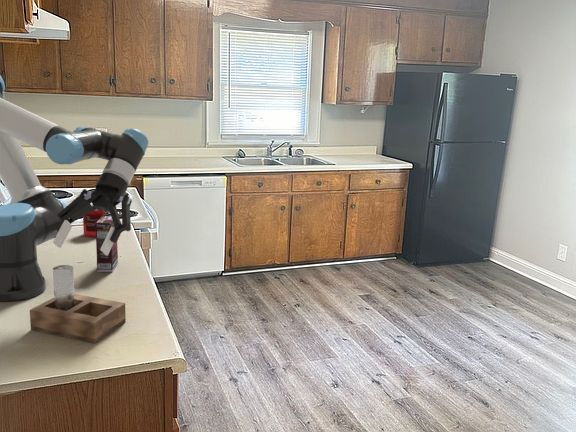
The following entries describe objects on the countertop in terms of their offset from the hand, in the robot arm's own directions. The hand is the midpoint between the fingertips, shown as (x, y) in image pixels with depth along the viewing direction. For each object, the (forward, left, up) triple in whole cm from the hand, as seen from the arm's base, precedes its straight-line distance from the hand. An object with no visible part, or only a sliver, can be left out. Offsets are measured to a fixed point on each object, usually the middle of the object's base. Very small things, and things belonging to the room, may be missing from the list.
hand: (79, 248), depth 128 cm
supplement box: (-14, +31, -17) cm, 38 cm away
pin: (0, -6, -16) cm, 17 cm away
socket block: (+4, -6, -17) cm, 19 cm away
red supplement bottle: (-40, +60, -17) cm, 74 cm away
